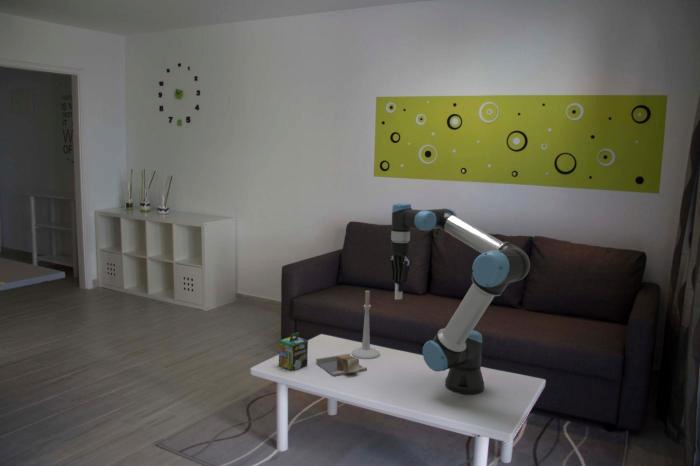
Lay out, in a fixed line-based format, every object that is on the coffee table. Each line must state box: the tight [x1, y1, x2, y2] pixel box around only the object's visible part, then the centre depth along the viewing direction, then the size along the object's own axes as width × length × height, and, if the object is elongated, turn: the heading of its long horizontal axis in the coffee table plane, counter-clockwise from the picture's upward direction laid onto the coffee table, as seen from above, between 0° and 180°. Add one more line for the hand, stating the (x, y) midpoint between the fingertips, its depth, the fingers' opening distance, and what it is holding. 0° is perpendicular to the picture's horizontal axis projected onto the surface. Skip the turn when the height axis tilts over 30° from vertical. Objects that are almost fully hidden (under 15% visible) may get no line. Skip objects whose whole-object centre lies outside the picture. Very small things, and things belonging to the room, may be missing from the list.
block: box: [337, 354, 360, 374], centre depth 240 cm, size 5×5×10 cm
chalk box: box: [278, 331, 309, 372], centre depth 245 cm, size 9×9×15 cm
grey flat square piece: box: [315, 353, 368, 377], centre depth 246 cm, size 16×16×2 cm
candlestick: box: [351, 290, 381, 360], centre depth 261 cm, size 13×13×30 cm
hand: (398, 298), depth 234 cm, fingers closed
